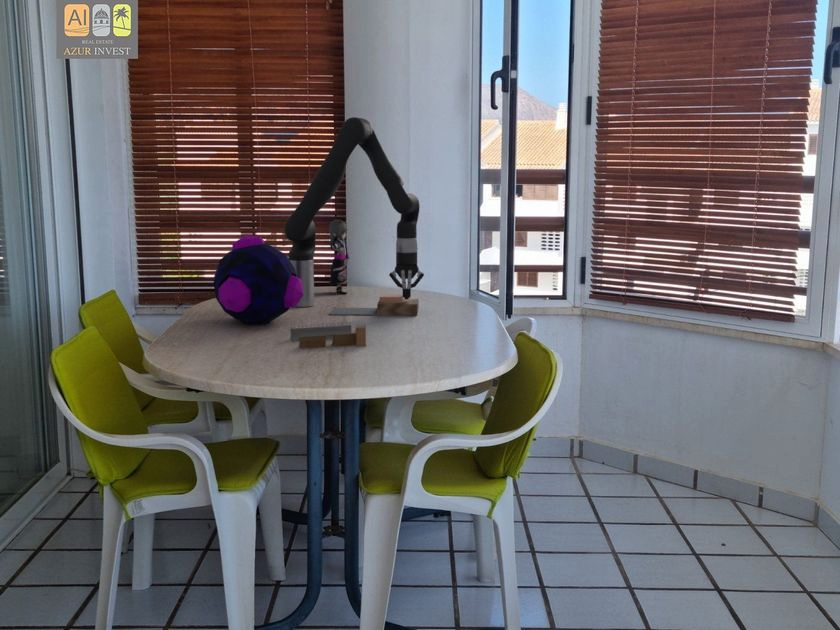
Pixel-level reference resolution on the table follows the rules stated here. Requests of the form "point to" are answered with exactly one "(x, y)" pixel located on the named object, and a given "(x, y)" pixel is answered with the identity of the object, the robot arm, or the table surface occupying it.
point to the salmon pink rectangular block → (391, 298)
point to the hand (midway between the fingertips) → (406, 298)
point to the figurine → (338, 255)
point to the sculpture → (256, 282)
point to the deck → (399, 307)
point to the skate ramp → (329, 335)
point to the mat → (353, 311)
